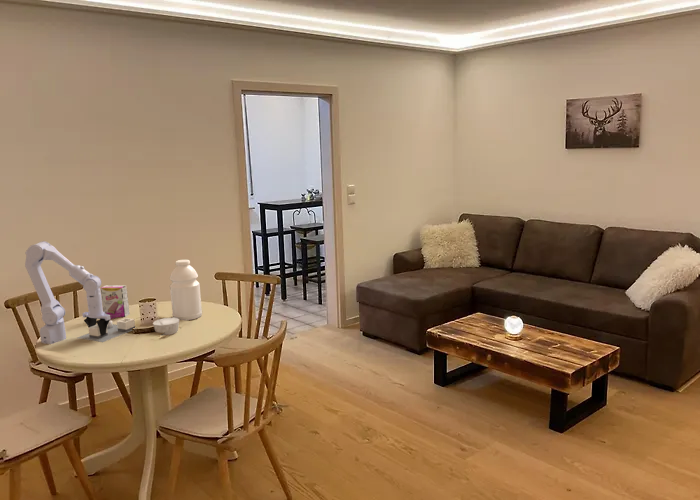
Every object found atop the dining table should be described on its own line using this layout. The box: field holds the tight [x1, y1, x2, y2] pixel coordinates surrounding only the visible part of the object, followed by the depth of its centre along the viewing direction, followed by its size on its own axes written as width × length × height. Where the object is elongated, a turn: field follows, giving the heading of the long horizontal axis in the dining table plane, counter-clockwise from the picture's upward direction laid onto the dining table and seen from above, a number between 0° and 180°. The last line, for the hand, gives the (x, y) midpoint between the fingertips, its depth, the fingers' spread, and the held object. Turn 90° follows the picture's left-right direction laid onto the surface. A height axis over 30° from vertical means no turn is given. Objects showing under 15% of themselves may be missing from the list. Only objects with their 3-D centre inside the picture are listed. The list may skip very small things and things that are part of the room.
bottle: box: [169, 259, 203, 321], centre depth 276 cm, size 14×14×28 cm
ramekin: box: [152, 317, 180, 337], centre depth 256 cm, size 11×11×5 cm
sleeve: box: [88, 323, 108, 339], centre depth 249 cm, size 5×5×4 cm
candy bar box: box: [100, 284, 131, 321], centre depth 278 cm, size 11×5×16 cm, turn 84°
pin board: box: [76, 320, 133, 343], centre depth 253 cm, size 20×16×4 cm
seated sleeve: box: [116, 317, 136, 333], centre depth 256 cm, size 5×5×4 cm
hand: (98, 334), depth 249 cm, fingers closed on sleeve, 5 cm apart
